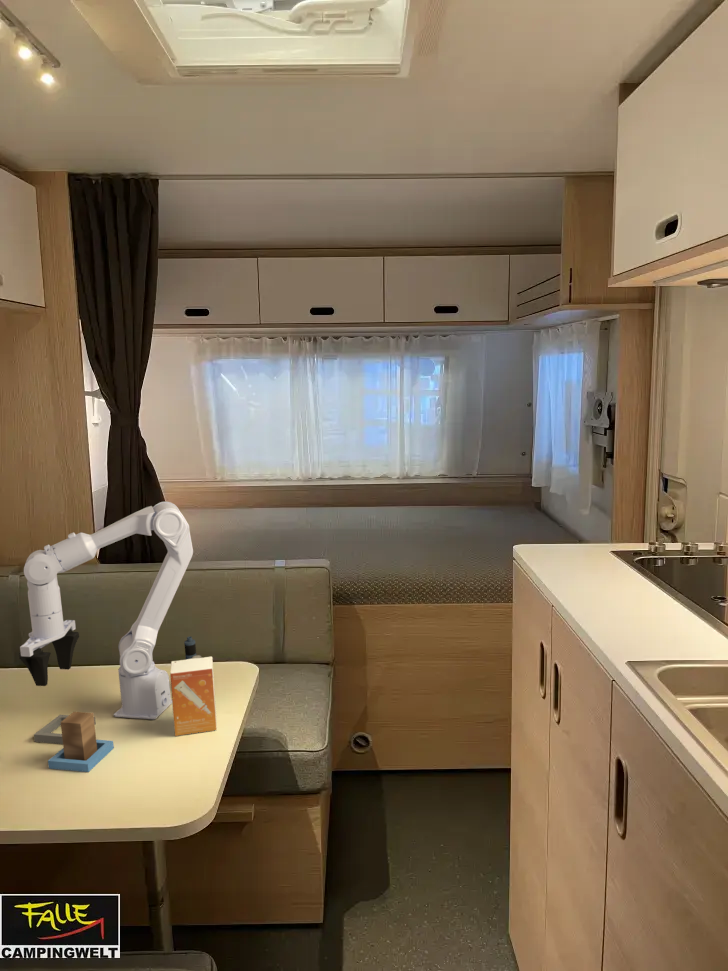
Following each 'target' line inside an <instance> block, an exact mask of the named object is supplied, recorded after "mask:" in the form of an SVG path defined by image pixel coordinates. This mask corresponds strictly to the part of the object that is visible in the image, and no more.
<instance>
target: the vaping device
mask: <svg viewBox="0 0 728 971" xmlns="http://www.w3.org/2000/svg"><path fill="white" fill-rule="evenodd" d="M196 644H197V643H196V639H193V637H192V636H187V637H186V640H184V654H185V659H184V660H186V659H193V658H203V657H202V655H201V654H197V646H196Z"/></svg>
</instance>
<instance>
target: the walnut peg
mask: <svg viewBox="0 0 728 971" xmlns="http://www.w3.org/2000/svg"><path fill="white" fill-rule="evenodd" d="M68 715H69V716H68V717H67V718H65V719H64V720H63V721H62V722H61V725H60V730H61V734H62V739H63V744H62V745H63V747H62V749H63V748H64V756H65V759H72V760H83V761H86V760H87V759H89V758H90V757H91V756H92V755H93V754H94V753H95V752H96V751H97V742H96V740H97V735H96V728H95V727H96V726H95V725H96V724H94V717H95V716H94V712H83V711H73V712H72V713H71V714H68Z"/></svg>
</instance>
